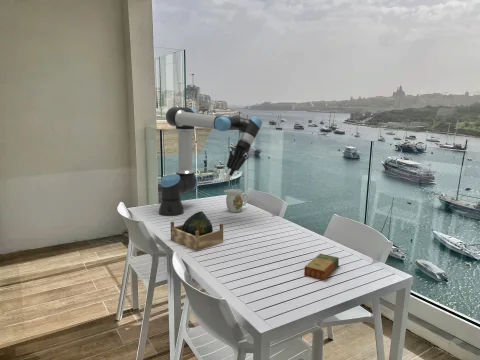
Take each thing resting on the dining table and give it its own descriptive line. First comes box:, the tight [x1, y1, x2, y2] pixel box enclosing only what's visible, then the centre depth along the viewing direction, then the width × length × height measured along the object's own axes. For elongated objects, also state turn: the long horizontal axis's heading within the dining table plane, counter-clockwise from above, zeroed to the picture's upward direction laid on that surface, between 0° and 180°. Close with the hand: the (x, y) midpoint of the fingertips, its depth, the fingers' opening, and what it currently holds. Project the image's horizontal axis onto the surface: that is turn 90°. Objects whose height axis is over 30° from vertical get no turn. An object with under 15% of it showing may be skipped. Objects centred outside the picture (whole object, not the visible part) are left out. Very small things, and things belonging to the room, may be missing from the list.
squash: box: [182, 210, 214, 236], centre depth 169 cm, size 14×15×15 cm
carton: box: [303, 253, 340, 281], centre depth 138 cm, size 8×16×4 cm, turn 146°
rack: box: [169, 221, 224, 251], centre depth 169 cm, size 20×16×9 cm
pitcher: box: [223, 188, 249, 213], centre depth 222 cm, size 11×18×14 cm, turn 122°
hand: (226, 180), depth 188 cm, fingers closed
